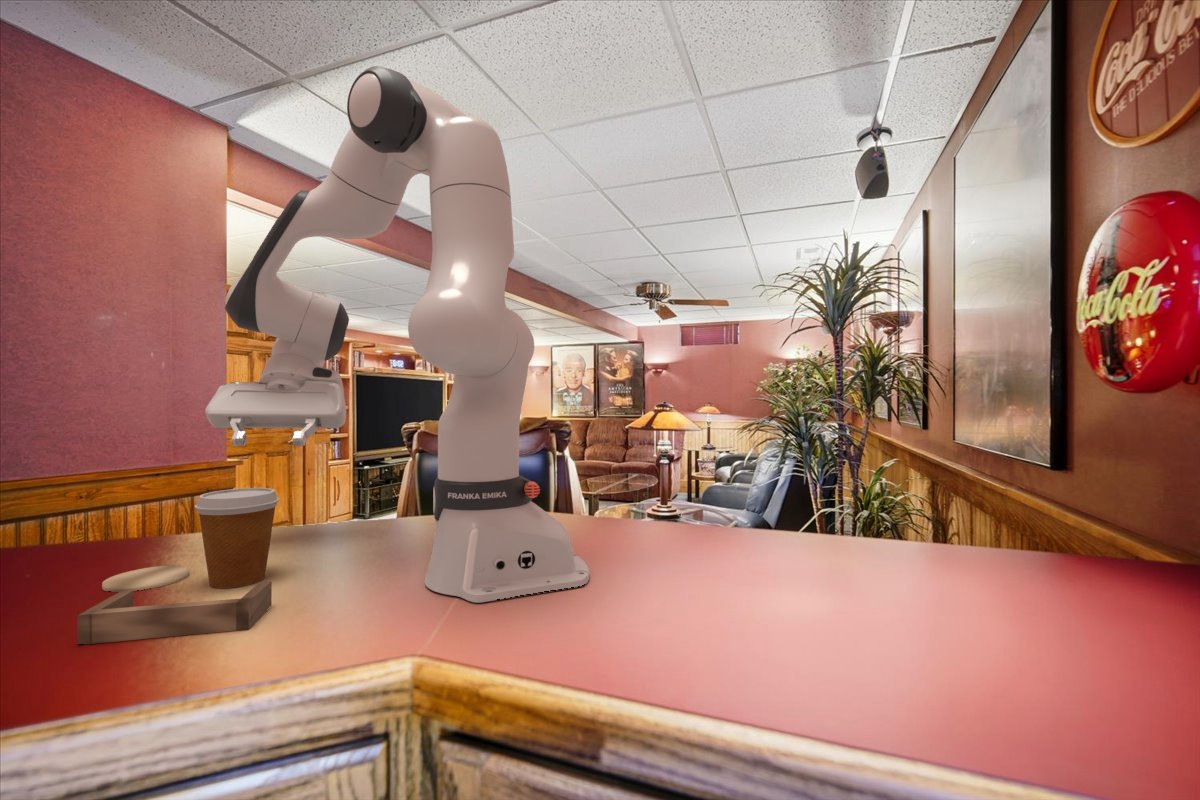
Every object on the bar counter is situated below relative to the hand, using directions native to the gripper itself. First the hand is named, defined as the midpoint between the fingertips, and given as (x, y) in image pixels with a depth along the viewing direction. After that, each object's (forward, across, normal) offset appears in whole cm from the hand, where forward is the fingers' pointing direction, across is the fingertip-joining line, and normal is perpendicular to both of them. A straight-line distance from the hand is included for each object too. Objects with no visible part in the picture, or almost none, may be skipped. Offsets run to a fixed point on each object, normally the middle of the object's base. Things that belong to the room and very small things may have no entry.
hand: (268, 443), depth 83 cm
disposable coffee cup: (+21, 0, +4) cm, 22 cm away
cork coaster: (+19, -12, +6) cm, 23 cm away
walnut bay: (+30, 0, -5) cm, 31 cm away
